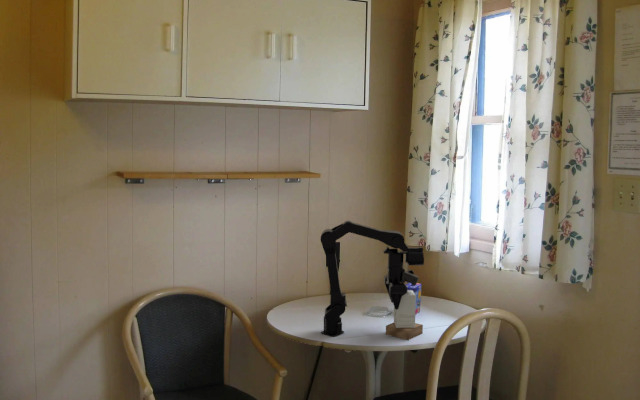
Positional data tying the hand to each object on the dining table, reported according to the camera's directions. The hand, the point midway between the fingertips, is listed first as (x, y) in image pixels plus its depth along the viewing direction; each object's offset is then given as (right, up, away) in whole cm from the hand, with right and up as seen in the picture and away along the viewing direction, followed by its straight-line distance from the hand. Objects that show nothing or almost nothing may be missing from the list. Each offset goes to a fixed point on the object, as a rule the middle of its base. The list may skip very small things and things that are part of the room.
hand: (394, 305), depth 234 cm
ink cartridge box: (+11, -8, +29) cm, 32 cm away
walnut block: (+4, -11, +1) cm, 12 cm away
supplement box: (+4, -8, +1) cm, 8 cm away
